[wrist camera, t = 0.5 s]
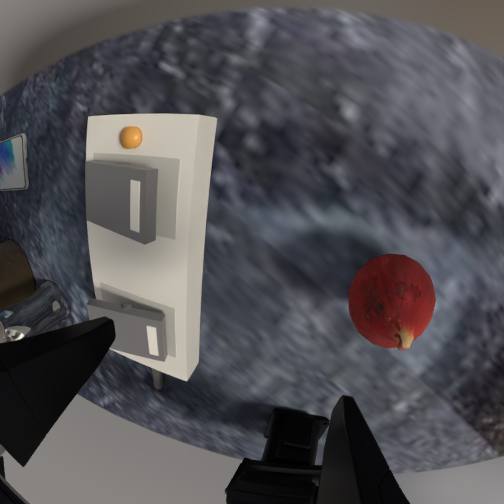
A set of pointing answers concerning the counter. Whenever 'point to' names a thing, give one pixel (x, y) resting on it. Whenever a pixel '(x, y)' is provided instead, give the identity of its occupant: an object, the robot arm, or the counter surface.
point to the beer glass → (34, 313)
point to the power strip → (158, 228)
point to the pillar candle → (14, 274)
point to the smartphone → (14, 163)
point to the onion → (391, 300)
